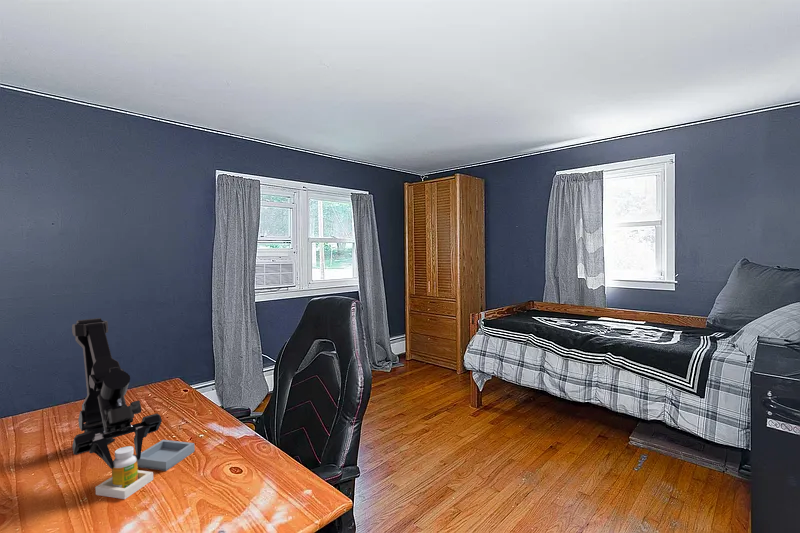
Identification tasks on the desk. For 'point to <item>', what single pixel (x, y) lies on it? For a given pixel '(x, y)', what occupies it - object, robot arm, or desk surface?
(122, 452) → the supplement bottle
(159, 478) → the desk surface
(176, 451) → the tray
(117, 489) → the holder collar
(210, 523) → the desk surface
